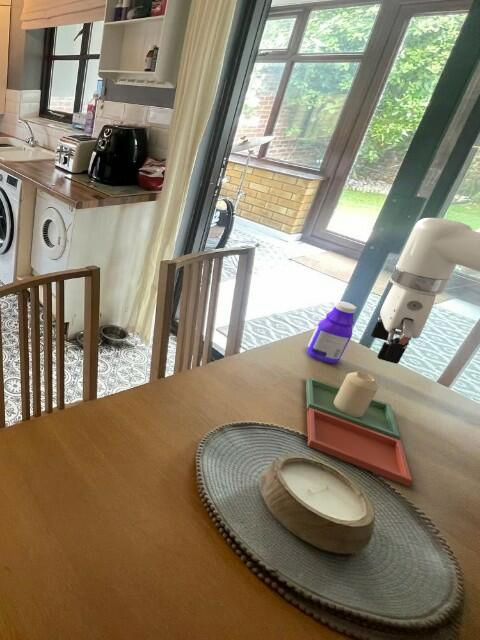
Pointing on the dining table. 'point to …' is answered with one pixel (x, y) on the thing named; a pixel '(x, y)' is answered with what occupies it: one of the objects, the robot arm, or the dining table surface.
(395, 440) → the tray terracotta
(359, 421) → the tray sage
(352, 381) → the candle
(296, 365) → the dining table surface
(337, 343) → the bottle
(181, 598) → the dining table surface
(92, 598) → the dining table surface
